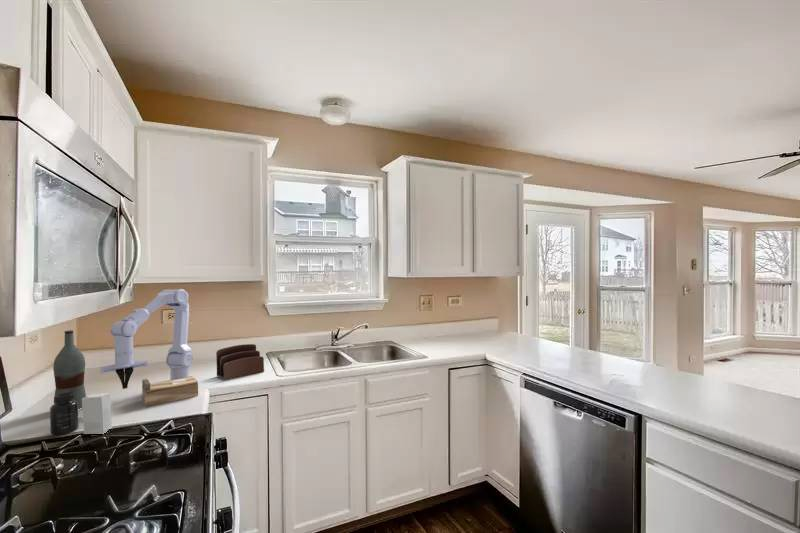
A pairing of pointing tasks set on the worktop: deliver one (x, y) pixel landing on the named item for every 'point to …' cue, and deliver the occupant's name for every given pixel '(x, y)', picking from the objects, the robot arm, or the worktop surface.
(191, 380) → the mailer lid
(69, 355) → the vodka
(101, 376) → the worktop surface
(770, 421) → the worktop surface
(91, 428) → the skincare box
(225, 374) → the letter holder
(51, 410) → the supplement bottle
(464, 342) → the worktop surface
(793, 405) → the worktop surface
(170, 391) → the box
